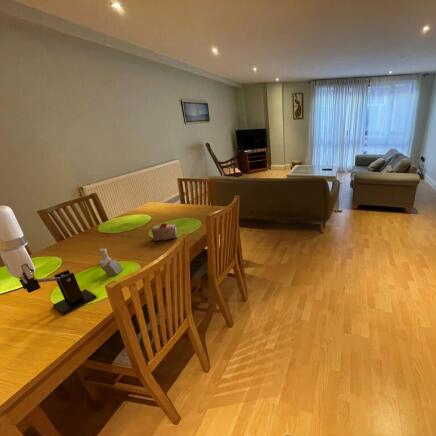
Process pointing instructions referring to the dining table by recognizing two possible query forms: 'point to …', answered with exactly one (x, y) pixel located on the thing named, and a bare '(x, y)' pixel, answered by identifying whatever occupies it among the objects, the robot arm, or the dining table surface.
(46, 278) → the switch lever
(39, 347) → the dining table surface
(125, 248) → the dining table surface
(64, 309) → the stand
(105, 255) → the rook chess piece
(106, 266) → the mineral specimen
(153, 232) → the food item
